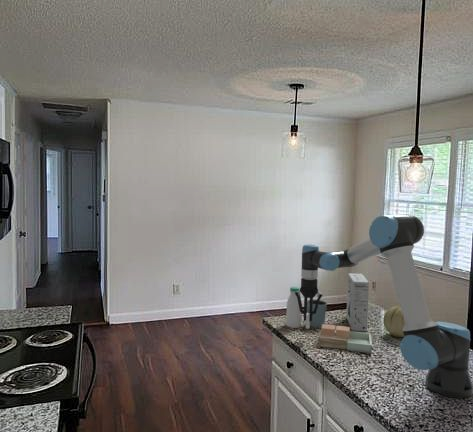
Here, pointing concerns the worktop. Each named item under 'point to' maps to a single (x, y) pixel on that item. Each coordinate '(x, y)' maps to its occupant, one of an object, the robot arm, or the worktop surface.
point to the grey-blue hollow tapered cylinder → (317, 313)
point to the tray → (359, 342)
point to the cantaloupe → (394, 321)
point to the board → (333, 341)
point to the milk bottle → (293, 310)
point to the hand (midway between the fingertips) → (307, 327)
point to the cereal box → (357, 302)
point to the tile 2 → (342, 331)
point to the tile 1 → (328, 330)
